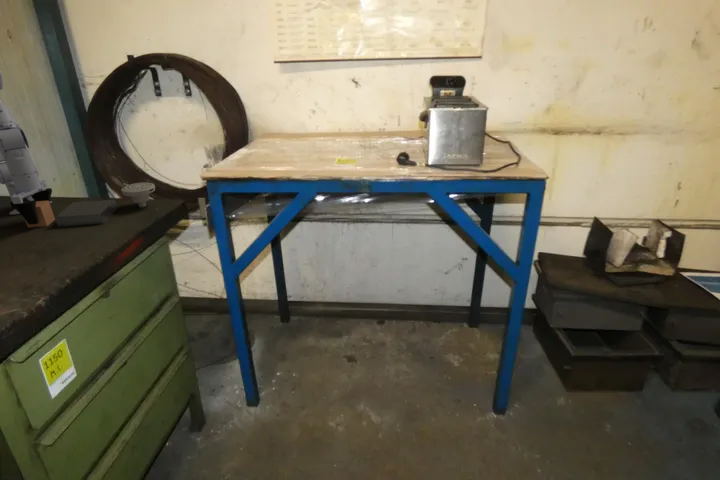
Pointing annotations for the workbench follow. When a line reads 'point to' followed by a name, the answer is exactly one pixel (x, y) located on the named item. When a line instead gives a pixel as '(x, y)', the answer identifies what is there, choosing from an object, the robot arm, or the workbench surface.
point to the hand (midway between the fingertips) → (40, 218)
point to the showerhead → (138, 192)
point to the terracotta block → (43, 214)
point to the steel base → (86, 213)
